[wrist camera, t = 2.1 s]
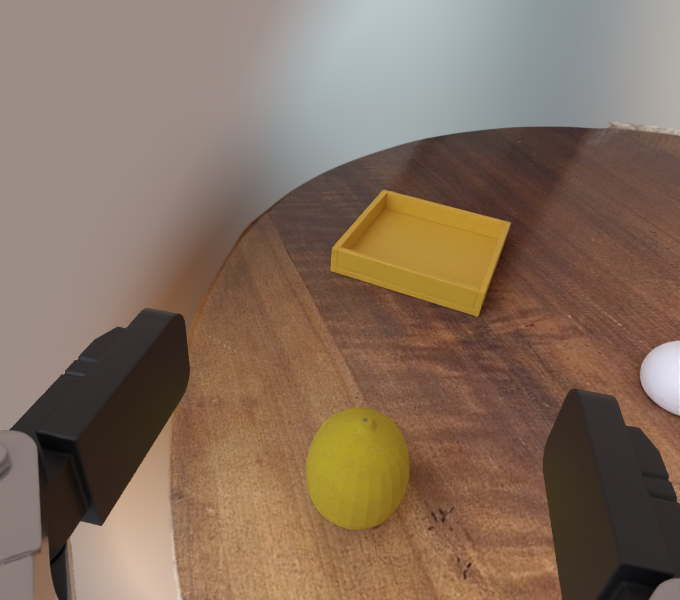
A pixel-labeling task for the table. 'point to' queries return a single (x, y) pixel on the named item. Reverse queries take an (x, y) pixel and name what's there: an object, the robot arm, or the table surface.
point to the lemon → (357, 468)
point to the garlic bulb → (663, 376)
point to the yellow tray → (423, 250)
